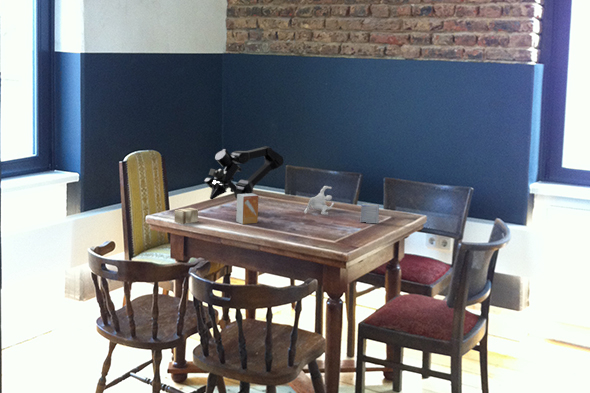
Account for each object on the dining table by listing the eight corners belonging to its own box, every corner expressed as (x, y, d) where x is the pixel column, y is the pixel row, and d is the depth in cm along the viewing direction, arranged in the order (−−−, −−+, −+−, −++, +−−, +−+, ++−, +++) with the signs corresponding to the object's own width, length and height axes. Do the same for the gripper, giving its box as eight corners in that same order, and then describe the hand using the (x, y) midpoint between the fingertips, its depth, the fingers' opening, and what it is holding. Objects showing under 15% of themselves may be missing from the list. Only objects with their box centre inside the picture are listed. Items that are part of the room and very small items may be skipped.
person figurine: (324, 194, 322) (331, 182, 338) (299, 197, 325) (307, 186, 342) (330, 219, 326) (336, 206, 342) (305, 222, 329) (312, 209, 346)
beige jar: (190, 207, 304) (174, 210, 298) (198, 209, 301) (182, 212, 294) (190, 219, 305) (174, 221, 299) (197, 221, 302) (182, 224, 295)
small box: (242, 224, 299) (243, 196, 297) (235, 221, 304) (236, 193, 302) (258, 222, 303) (258, 195, 301) (251, 220, 309) (252, 192, 306)
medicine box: (378, 222, 314) (379, 204, 312) (376, 224, 310) (377, 206, 308) (362, 220, 316) (363, 203, 315) (360, 222, 312) (361, 204, 311)
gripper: (206, 160, 317) (188, 186, 311) (230, 164, 304) (212, 190, 298) (220, 175, 324) (202, 200, 318) (244, 178, 310) (227, 205, 305)
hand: (210, 198), depth 309 cm, fingers closed
